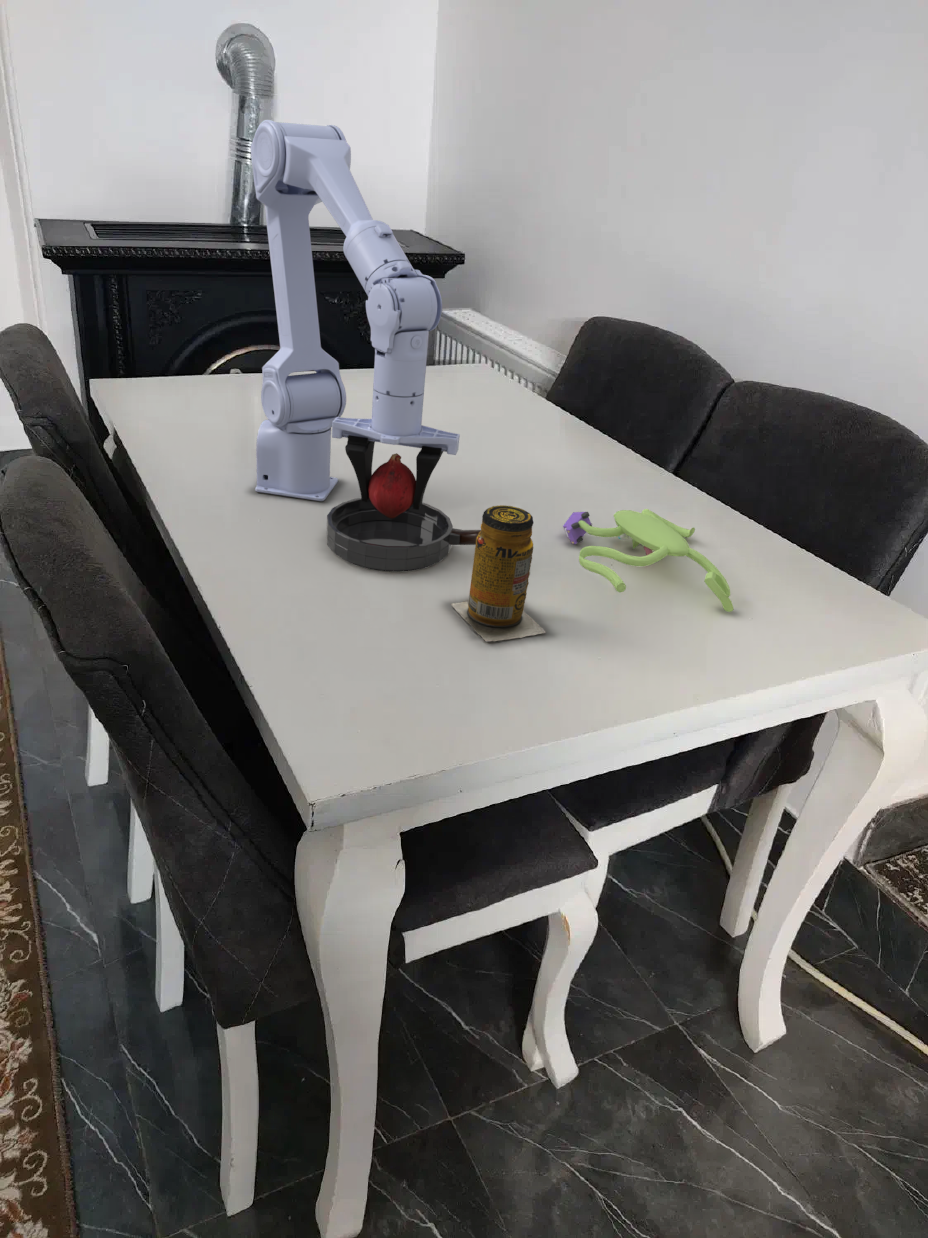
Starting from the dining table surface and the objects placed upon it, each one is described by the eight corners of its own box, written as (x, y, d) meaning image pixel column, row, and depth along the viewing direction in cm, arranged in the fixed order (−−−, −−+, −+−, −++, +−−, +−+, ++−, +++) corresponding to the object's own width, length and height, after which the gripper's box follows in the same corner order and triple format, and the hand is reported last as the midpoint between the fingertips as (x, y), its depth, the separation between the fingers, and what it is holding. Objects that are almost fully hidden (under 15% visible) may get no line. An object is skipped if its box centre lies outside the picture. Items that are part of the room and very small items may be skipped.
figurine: (578, 615, 102) (586, 570, 99) (552, 518, 125) (558, 479, 122) (740, 627, 103) (752, 583, 100) (684, 529, 126) (693, 491, 124)
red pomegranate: (408, 531, 108) (412, 466, 104) (360, 523, 109) (363, 458, 105) (419, 513, 113) (424, 450, 109) (374, 505, 114) (378, 443, 110)
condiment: (508, 597, 104) (521, 498, 98) (546, 634, 98) (563, 530, 92) (450, 605, 101) (460, 504, 95) (485, 644, 94) (498, 538, 89)
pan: (311, 562, 107) (312, 536, 105) (344, 513, 120) (345, 489, 118) (438, 582, 105) (441, 555, 104) (457, 530, 118) (460, 506, 117)
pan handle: (443, 546, 110) (445, 522, 109) (446, 539, 112) (448, 515, 111) (523, 558, 110) (526, 534, 108) (524, 551, 111) (528, 527, 110)
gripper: (326, 390, 100) (323, 505, 107) (457, 408, 99) (446, 524, 106) (342, 374, 106) (338, 484, 113) (466, 391, 105) (455, 501, 112)
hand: (391, 502), depth 110 cm, fingers closed on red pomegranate, 5 cm apart
